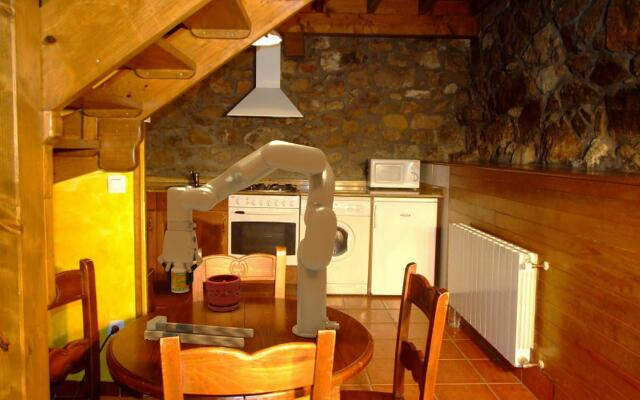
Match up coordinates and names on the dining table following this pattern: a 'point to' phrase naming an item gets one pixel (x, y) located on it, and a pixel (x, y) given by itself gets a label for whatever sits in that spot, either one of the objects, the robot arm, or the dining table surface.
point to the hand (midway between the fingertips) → (180, 283)
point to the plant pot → (223, 292)
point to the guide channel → (160, 327)
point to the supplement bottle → (179, 278)
